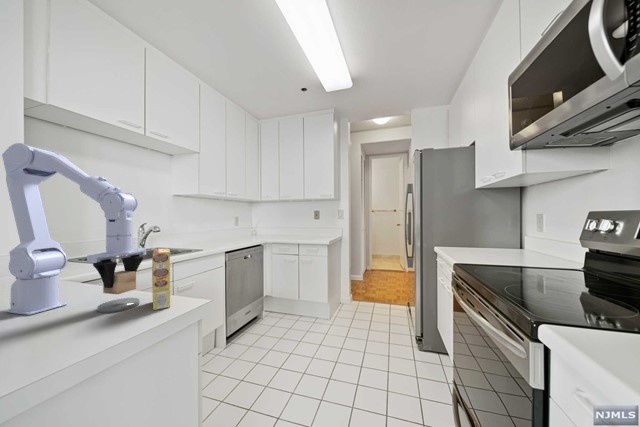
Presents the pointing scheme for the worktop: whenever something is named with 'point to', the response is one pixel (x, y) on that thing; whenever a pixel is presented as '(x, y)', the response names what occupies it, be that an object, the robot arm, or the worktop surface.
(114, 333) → the worktop surface
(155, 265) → the candy box
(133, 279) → the oak cube
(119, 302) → the slate coaster
